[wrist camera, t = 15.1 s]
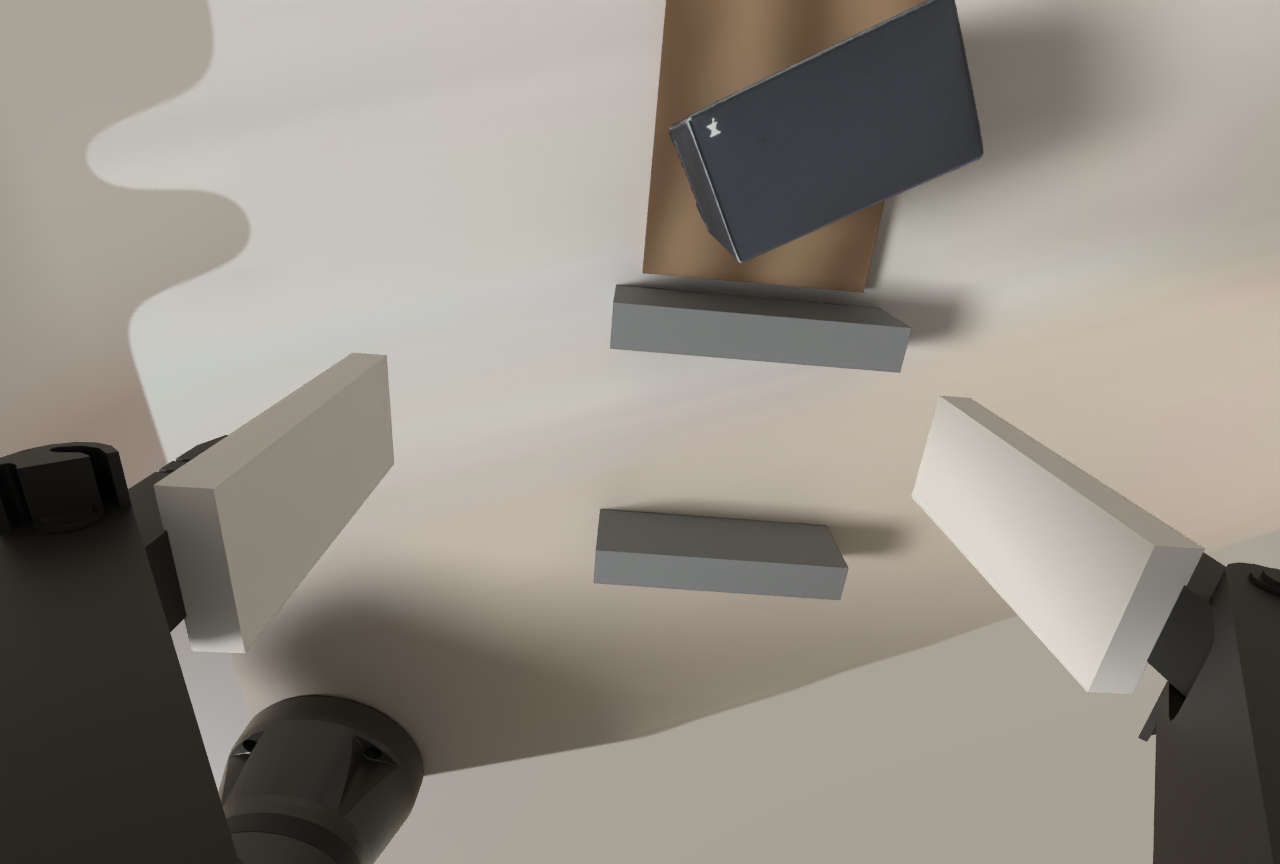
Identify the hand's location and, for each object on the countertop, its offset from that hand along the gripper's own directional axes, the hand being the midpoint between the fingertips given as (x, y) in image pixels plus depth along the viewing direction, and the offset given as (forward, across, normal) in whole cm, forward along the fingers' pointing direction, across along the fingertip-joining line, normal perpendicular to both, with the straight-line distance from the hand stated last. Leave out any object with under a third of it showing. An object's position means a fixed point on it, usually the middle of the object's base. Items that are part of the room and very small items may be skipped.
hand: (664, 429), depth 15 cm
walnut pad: (+24, +7, +8) cm, 26 cm away
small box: (+23, +7, +8) cm, 25 cm away
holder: (+24, +7, -10) cm, 27 cm away
